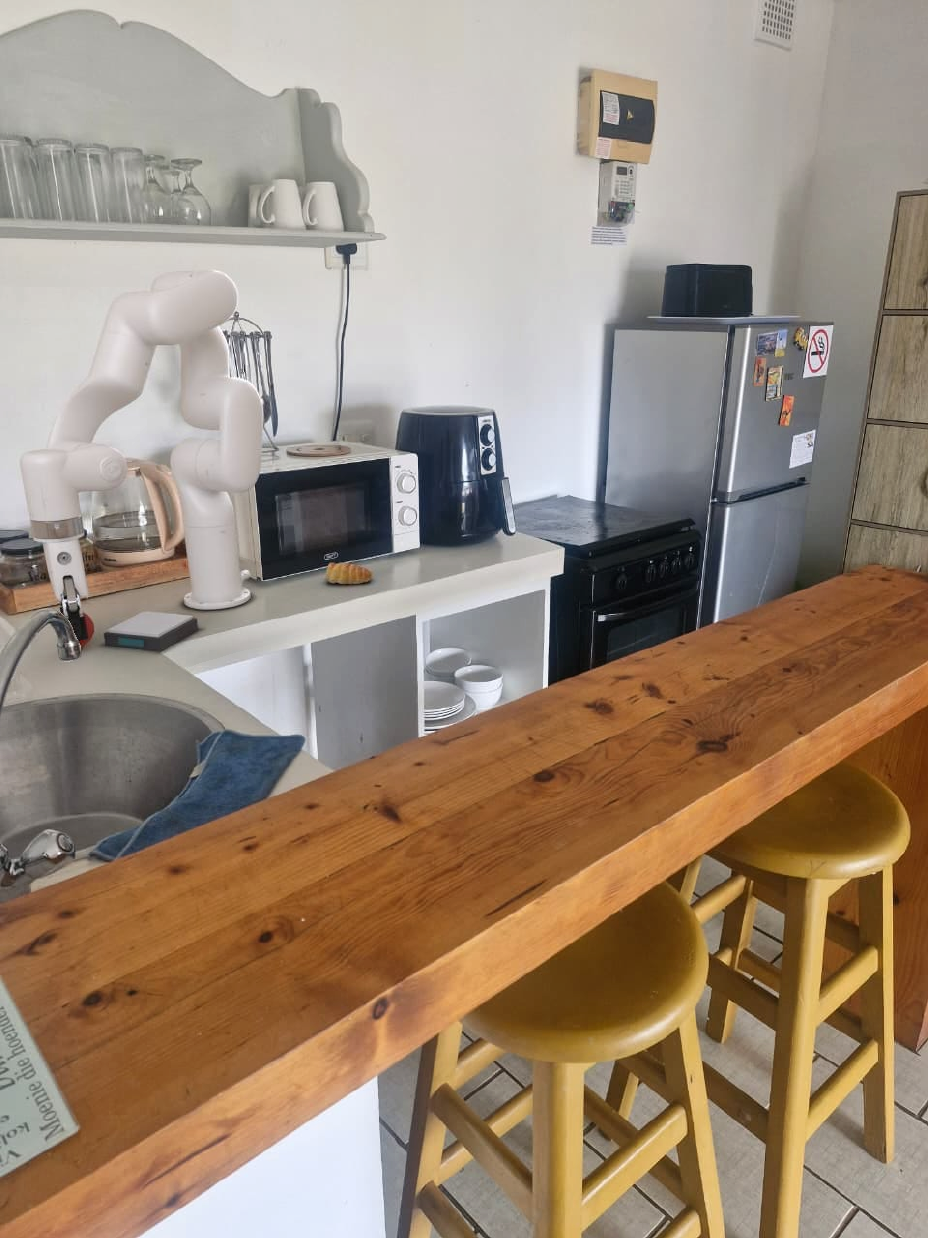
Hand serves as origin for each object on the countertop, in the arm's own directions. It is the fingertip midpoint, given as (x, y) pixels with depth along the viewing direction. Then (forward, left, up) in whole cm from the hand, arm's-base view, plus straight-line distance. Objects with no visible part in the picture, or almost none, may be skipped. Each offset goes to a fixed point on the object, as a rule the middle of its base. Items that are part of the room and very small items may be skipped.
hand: (75, 633), depth 144 cm
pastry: (-49, +27, -3) cm, 56 cm away
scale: (-9, +9, -3) cm, 12 cm away
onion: (0, 0, -3) cm, 3 cm away
